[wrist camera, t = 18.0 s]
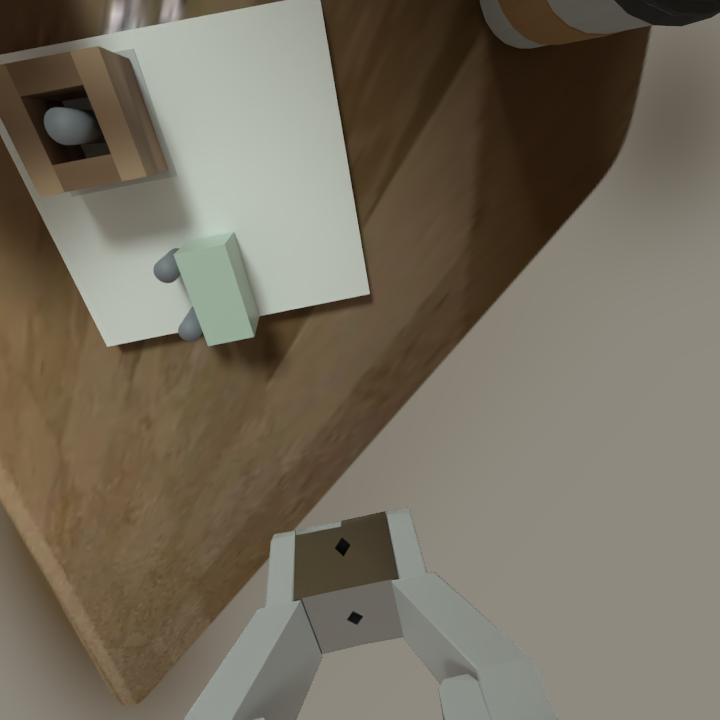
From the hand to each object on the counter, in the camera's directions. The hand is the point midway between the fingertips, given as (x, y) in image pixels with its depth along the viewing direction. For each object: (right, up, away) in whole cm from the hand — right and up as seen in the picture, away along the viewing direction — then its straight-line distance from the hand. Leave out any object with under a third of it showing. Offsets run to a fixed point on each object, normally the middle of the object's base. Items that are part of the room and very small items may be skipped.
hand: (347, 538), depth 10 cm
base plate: (-10, +15, +19) cm, 26 cm away
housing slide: (-9, +9, +20) cm, 24 cm away
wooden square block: (-14, +17, +15) cm, 27 cm away
